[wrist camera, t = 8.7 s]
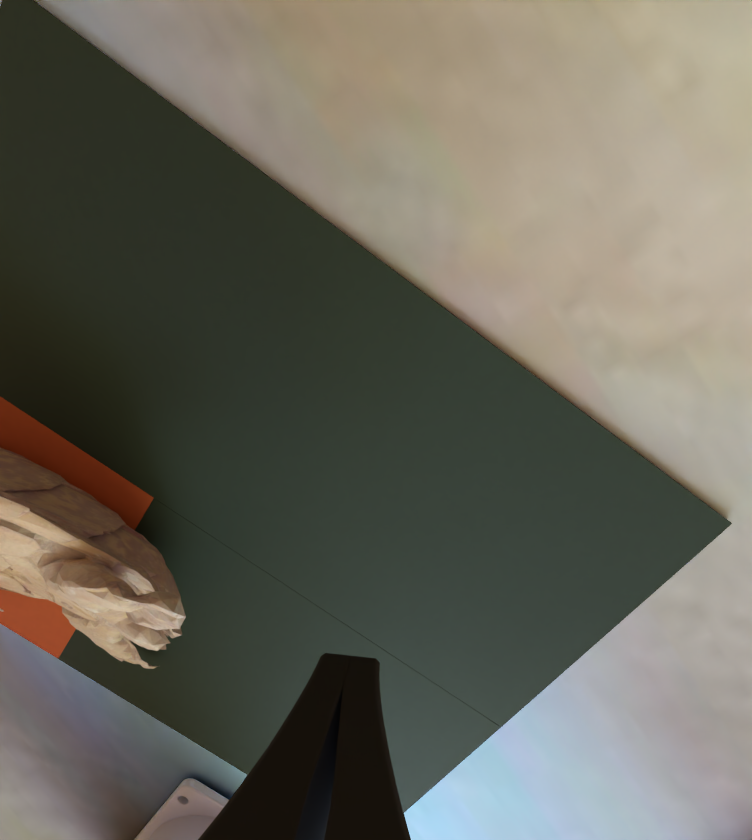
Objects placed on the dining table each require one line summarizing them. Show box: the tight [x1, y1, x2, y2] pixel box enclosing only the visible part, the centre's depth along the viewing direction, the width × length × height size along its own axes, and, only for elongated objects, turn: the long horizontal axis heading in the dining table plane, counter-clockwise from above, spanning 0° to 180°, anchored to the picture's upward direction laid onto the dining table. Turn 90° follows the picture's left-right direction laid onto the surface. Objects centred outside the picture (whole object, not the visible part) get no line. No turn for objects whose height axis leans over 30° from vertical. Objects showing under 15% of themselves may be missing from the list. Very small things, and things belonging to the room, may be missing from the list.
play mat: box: [0, 0, 732, 813], centre depth 16 cm, size 22×28×1 cm
